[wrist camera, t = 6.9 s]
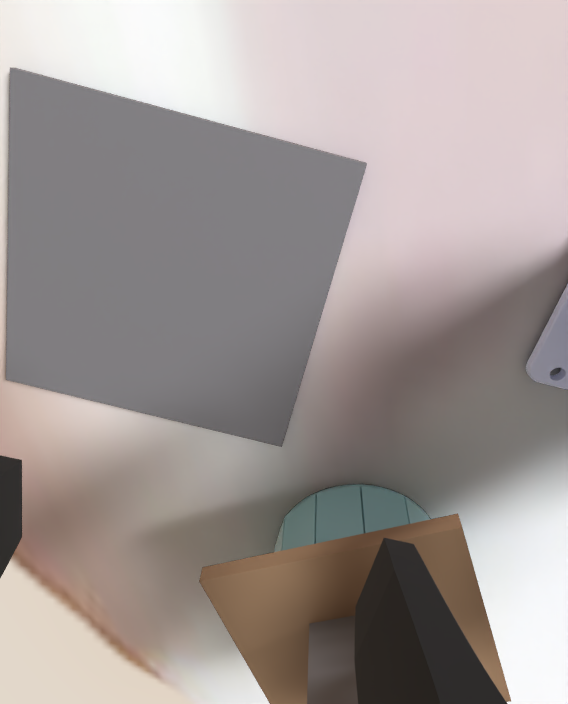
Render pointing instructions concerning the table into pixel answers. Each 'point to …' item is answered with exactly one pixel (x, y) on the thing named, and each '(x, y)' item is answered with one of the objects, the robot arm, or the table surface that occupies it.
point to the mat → (166, 257)
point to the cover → (335, 608)
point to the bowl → (346, 515)
